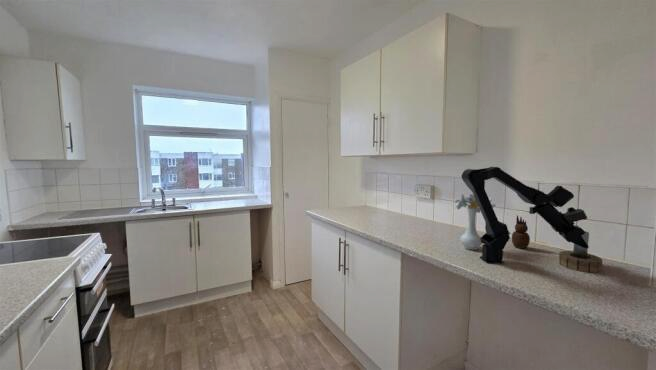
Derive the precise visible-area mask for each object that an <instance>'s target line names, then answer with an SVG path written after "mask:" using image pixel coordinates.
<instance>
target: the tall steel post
mask: <svg viewBox="0 0 656 370" xmlns="http://www.w3.org/2000/svg"><path fill="white" fill-rule="evenodd" d="M584 231H585V230H584ZM581 236H582V238H583V239H584V240H585V242H586V243H587V245H588V246H589V241H590V239H589V238H590V231H585V234H583V235H581ZM572 249H573V250H572V251H573V257H577V258H582V259H587V253H588V252H589V248H587V249H586V248H583V247H581V246H579V245H576V244H574V243H573V248H572Z"/></svg>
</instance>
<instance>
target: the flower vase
mask: <svg viewBox="0 0 656 370" xmlns="http://www.w3.org/2000/svg"><path fill="white" fill-rule="evenodd" d="M488 198H489V200H490V203H491V205H492V207H493V208H495V207H496V203H493V202H492V199H493V197H488ZM454 202H455V205H456V206H454V210H455V209H457V210H460V209H461V208H463V207H464V208H466V209H467V213H468V214H467V215H468V220H467V228H466V231H465V232H464V233H463V234H462V235H460V238H459V241H460V243H461V244H462V246H463V248H464V249H467V250H472V251H474V250H479V247H481V246H482V245H483V243H482V242H481V239H480V238H481V237H482V236H480V234H479V233H478V232H477V227H476V224H477V223H476V218H477V217H476V215H477V213H478V214H479V213H481V211H480V208H479V206H478V204H477V202H476V199H475V197H474V195H473V193H470V194H469V197H468V196H467V197H465V196H464V194H460V196H459V199H456V200H455V201H454Z"/></svg>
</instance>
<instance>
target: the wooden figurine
mask: <svg viewBox="0 0 656 370" xmlns="http://www.w3.org/2000/svg"><path fill="white" fill-rule="evenodd" d="M511 241H512V242H511V243H512V245H513V247H515V248H517V249H521V250H522V249H523V250H524V249H525V250H526V249H527V248H528V246H529V244H530V242H531V237H530V235H529V233H528V225H527V221H526V220H525V219H522V216H520V217H519V215H518V214H517V215H516V224H515V225H514V231H513V232H512V234H511Z"/></svg>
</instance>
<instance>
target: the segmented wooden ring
mask: <svg viewBox="0 0 656 370" xmlns="http://www.w3.org/2000/svg"><path fill="white" fill-rule="evenodd" d="M558 264H559V265H560V266H562V267H564V268H567V269H569V270H573V271H577V272H584V273H590V274H591V273H596V274H597V273H600V272H602V268H603V259H602V258H601V257H600V256H597V255H595V254H591V253H588V252H587V259H582V258H577V257H573V250H561V251H559V252H558Z"/></svg>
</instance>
